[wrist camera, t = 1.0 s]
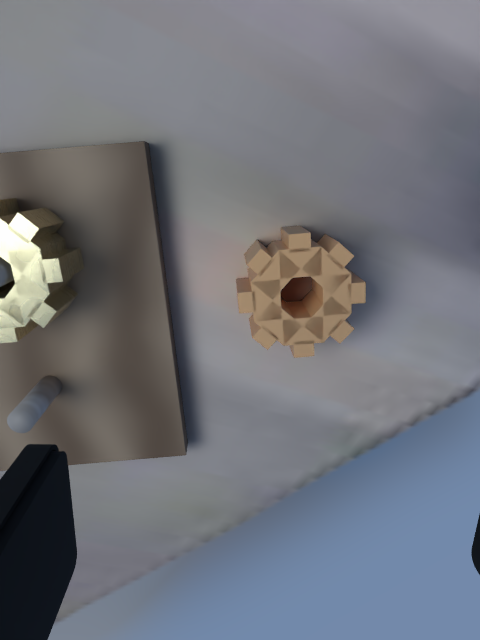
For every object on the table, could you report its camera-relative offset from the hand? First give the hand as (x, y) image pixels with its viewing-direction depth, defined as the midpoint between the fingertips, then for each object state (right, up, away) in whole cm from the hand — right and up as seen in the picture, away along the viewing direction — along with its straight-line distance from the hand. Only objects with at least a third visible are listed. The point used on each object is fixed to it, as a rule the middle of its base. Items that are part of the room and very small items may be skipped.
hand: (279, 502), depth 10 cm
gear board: (-13, +4, +19) cm, 24 cm away
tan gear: (+3, +6, +19) cm, 20 cm away
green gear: (-14, +7, +16) cm, 22 cm away
